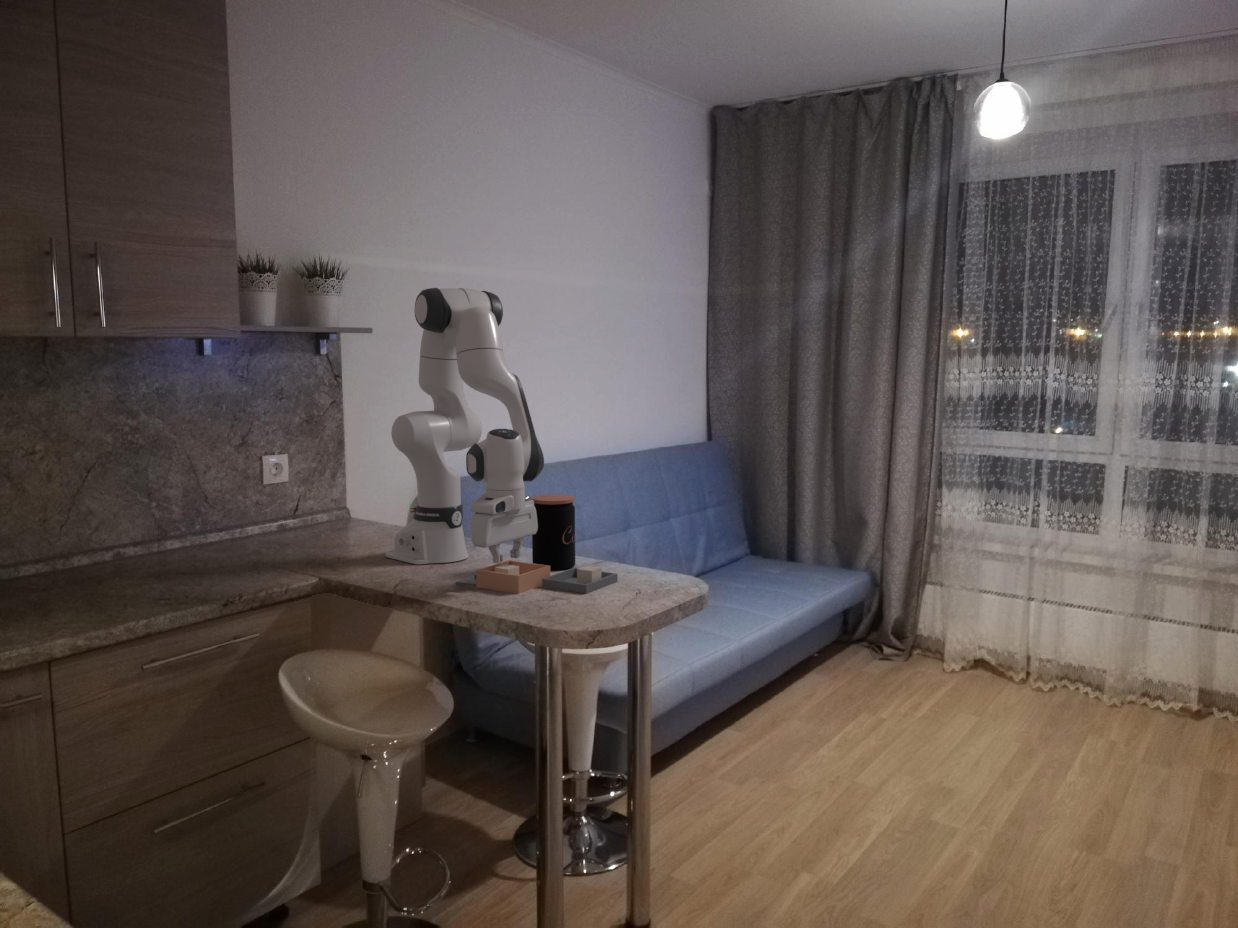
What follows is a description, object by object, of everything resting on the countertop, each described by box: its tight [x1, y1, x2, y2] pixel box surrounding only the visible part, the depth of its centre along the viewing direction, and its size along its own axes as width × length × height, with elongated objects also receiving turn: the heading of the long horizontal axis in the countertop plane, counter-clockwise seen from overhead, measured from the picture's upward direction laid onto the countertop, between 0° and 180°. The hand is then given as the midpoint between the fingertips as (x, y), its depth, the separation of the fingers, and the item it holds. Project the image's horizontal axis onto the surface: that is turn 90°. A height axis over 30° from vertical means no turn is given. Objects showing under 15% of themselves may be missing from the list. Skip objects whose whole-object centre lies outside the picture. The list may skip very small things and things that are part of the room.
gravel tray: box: [541, 567, 618, 595], centre depth 211 cm, size 12×13×2 cm
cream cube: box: [495, 564, 519, 575], centre depth 212 cm, size 4×4×4 cm
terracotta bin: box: [475, 559, 551, 595], centre depth 211 cm, size 12×12×4 cm
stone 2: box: [577, 565, 603, 584], centre depth 210 cm, size 4×4×4 cm
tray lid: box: [455, 573, 477, 587], centre depth 216 cm, size 7×10×2 cm
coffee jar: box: [531, 494, 576, 572], centre depth 229 cm, size 11×11×18 cm
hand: (506, 559), depth 212 cm, fingers open, 5 cm apart
